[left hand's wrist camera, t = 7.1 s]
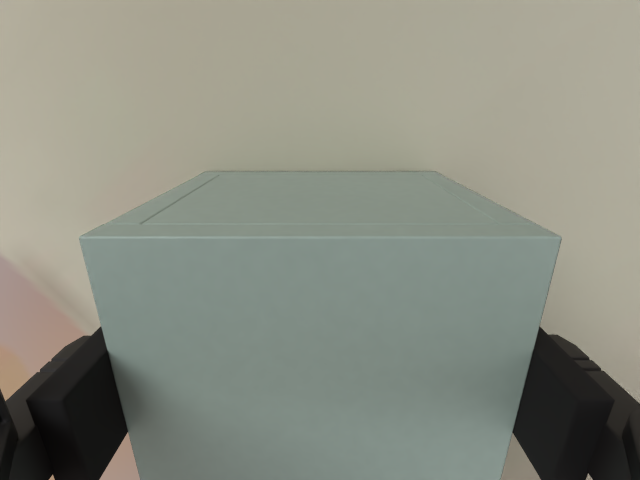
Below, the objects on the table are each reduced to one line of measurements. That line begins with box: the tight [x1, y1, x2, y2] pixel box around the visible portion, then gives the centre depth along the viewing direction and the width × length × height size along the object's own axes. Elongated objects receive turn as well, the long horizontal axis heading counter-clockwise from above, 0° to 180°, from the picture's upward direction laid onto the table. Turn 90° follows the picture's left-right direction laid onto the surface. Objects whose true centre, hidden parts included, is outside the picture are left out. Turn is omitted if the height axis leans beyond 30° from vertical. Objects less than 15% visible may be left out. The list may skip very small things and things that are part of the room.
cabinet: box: [79, 172, 562, 480], centre depth 15 cm, size 21×11×9 cm, turn 0°
